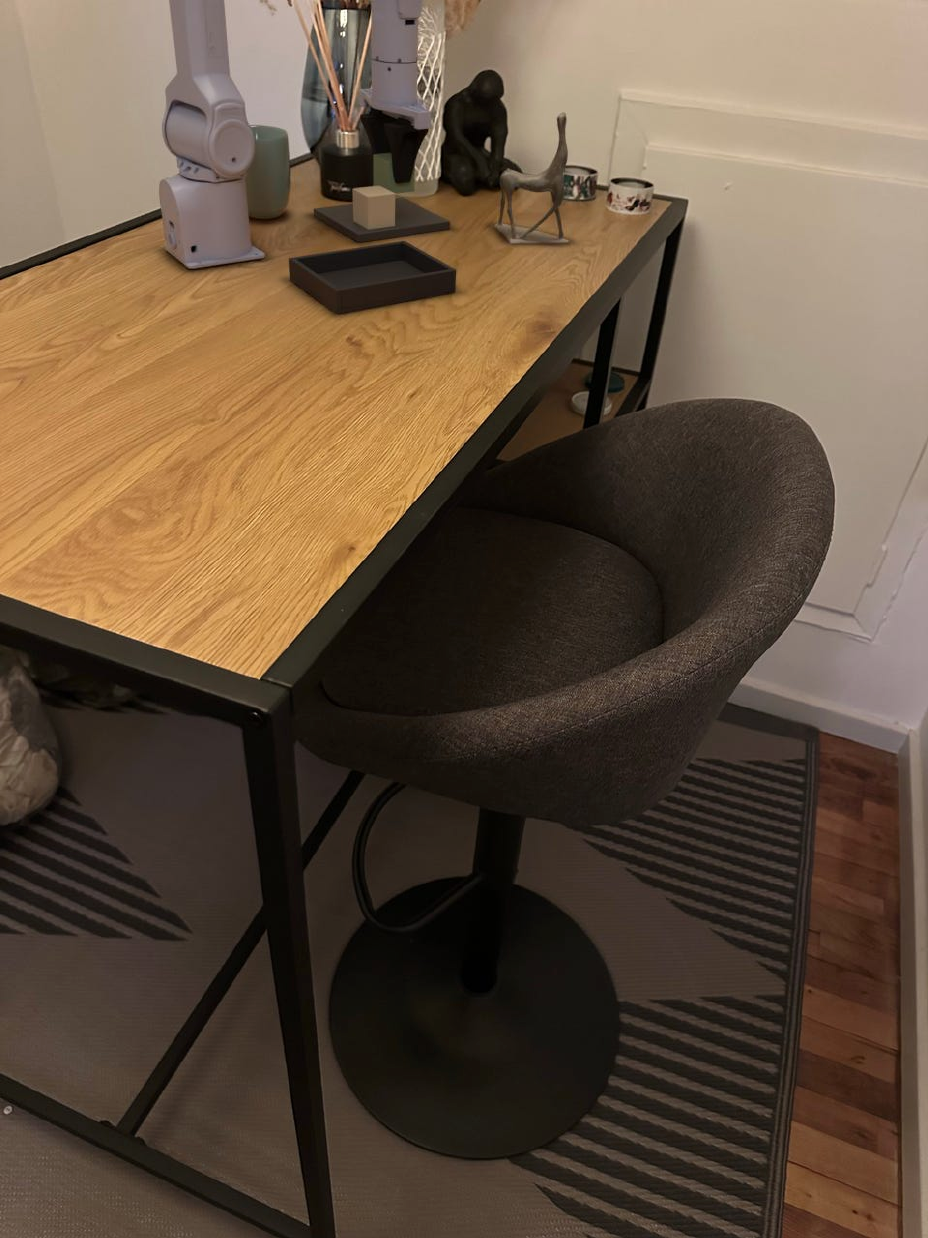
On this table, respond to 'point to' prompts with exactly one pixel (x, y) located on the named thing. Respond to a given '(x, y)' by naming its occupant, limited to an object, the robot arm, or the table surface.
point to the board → (406, 223)
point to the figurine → (536, 183)
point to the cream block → (373, 207)
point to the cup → (268, 173)
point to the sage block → (389, 175)
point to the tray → (371, 276)
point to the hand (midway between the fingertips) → (393, 177)
